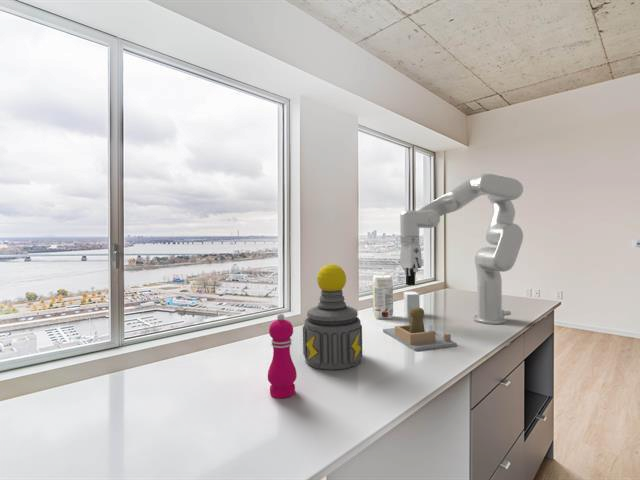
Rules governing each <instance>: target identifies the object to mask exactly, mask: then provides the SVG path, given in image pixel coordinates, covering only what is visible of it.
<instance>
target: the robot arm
mask: <svg viewBox="0 0 640 480" xmlns="http://www.w3.org/2000/svg"><path fill="white" fill-rule="evenodd" d="M523 192H524V186H523V183H521V182H520V181H519V180H518V179H516V178H512V177H508V176H503V175H497V174H492V173H482V174H479V175H474V176H471V177H469V178H468V179H467V180H465V181H463V182H461V183H460V184H459V185H458V186H456V187H454V188H453V189H451V190H450V191H448V192H446V193H445V194H442V195H440V196H439V197H438V198H436V199H434V200H432V201H430V202H429V203H427V204H425V205H423V206H422V207H421V208H419V209H418V210H414V209H413V210H402V211H401V212H400V214H399V215H400V216H399V218H400V220H399V221H400V224H399V226H400V228H399V229H400V256H399V257H400V259H399V261H400V267H402V270H403V271H404V275H405V285H406V286H415V285H416V281H415V280H416V277H415V276H416V274H417V272H419V269H421V268H422V267H423V262H422V261H423V260H422V251H421V244H420V229H431V228H435V227H437V226H438V225H439V224H440V222H441V216H443V215H447V214H451V213H453V212H457V211H459V210H461V209H462V208H464V207H465V206H467V205H469V204H470V203H471V202H472V201H474V200H476V199H477V198H478V197H480V196H485V195H486V197H487V198H488V200H489V201H490V203H491V205H492V208H493V209H492V214H491V219H490V221H489V225H488V227H487V230H486V233H485V234H486V235H485V241H486V242H487V243H488V244H490V245H492V246H493V247H492V246H491V247H490V246H485V247H481V248H480V249H478V250H477V252H476V253H475V256H474V264H475V268H476V275H477V276H476V279H477V281H476V282H477V283H476V289H477V290H476V293H477V295H476V296H477V298H476V299H477V302H476V303H477V305H476V306H477V307H476V308H477V309H476V310H477V313H476V314H477V315H474V316H473V320H474V321H475V322H478V323H481V324H489V325H502V324H505V323H507V319H506V318H505V316H511V314H512V312H511V311H510V310H503V307H502V306H503V304H502V302H503V299H502V298H503V296H502V293H503V291H502V290H503V289H502V288H503V287H502V285H503V283H502V282H503V281H502V280H503V279H502V274H501V273H502V272H505V273H506V272H507V271H510V270H512V268H513V267H514V266H515V263H516V261H517V259H518V255H519V252H520V249H521V247H522V243H523V241H524V240H523V239H524V233H523V229H522V227H521V226H520V225H519V224H517V223H514V220H515V215H516V210H515V206H514V204H513V202H512V201H513V200H517V199H519V198H520V197H521V196H522V195H523ZM494 246H496V247H494Z"/></svg>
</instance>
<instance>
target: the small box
mask: <svg viewBox="0 0 640 480" xmlns="http://www.w3.org/2000/svg"><path fill="white" fill-rule="evenodd" d="M420 305H421V304H420V294H419V293H418V292H416V291H403V313H404V315H405V316H406V317H407V318H411V316H410V314H409V311H410V309H411V308H414V307H418V308H421V306H420Z"/></svg>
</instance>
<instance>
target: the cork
mask: <svg viewBox="0 0 640 480" xmlns="http://www.w3.org/2000/svg"><path fill="white" fill-rule="evenodd" d="M409 314H410V316H411V317H410V324H409V325H410V330H409V332H410V333H420V332H425V330H424V323H423V321H424V318H423V317H424V316H425V310H424V309H423V308H421V307H420V308H418V307H414V308H411V309H410V311H409Z"/></svg>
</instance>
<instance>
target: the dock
mask: <svg viewBox="0 0 640 480" xmlns="http://www.w3.org/2000/svg"><path fill="white" fill-rule="evenodd" d="M382 329H383V330H382V332H383V333H384V334H386V335H388V336H390V337H391V338H393V339H394V340H396V341H398V342H399V343H401V345H402V344H403V345H404V346H405V347H408V348H409V349H411V350H413V351H414V352H418V351H424V350H425V351H426V349H427V350H434V348H435V349H442V348H443V347H444V348H450V347H457V342H455V341H453V340H452V339H451V338H452V337H451V335H452V334H451V333H448V332H447V333H443V336H442V335H440V334H438V333H437V332H436V331H435V330H433V331H429V332H426V331H425V332H420V333H410V332H409V330H410V324H405V325H404V324H403V325H395V326H394V327H391V328H382ZM444 348H443V349H444Z"/></svg>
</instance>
